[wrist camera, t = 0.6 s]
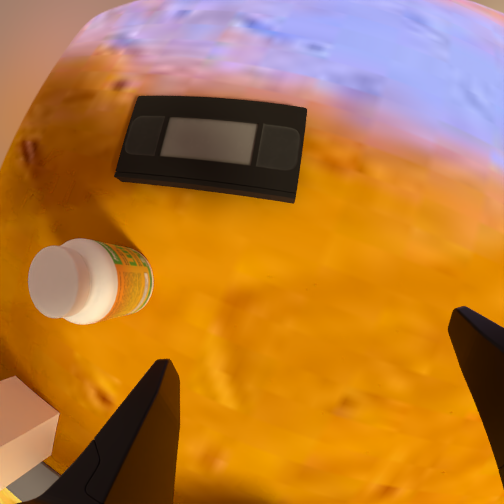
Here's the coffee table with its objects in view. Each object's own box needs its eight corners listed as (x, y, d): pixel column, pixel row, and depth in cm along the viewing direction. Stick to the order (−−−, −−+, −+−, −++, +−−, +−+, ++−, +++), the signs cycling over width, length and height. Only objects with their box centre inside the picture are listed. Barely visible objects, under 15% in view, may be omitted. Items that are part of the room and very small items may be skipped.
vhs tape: (146, 106, 26) (138, 95, 24) (305, 119, 25) (307, 108, 23) (124, 183, 26) (114, 176, 24) (293, 204, 25) (295, 198, 23)
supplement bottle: (163, 259, 24) (101, 248, 15) (145, 323, 24) (78, 347, 15) (107, 239, 25) (32, 221, 15) (91, 300, 25) (13, 308, 15)
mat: (76, 486, 23) (74, 488, 23) (66, 532, 23) (64, 533, 23) (-1, 423, 25) (-3, 424, 24) (-1, 478, 24) (-3, 479, 24)
